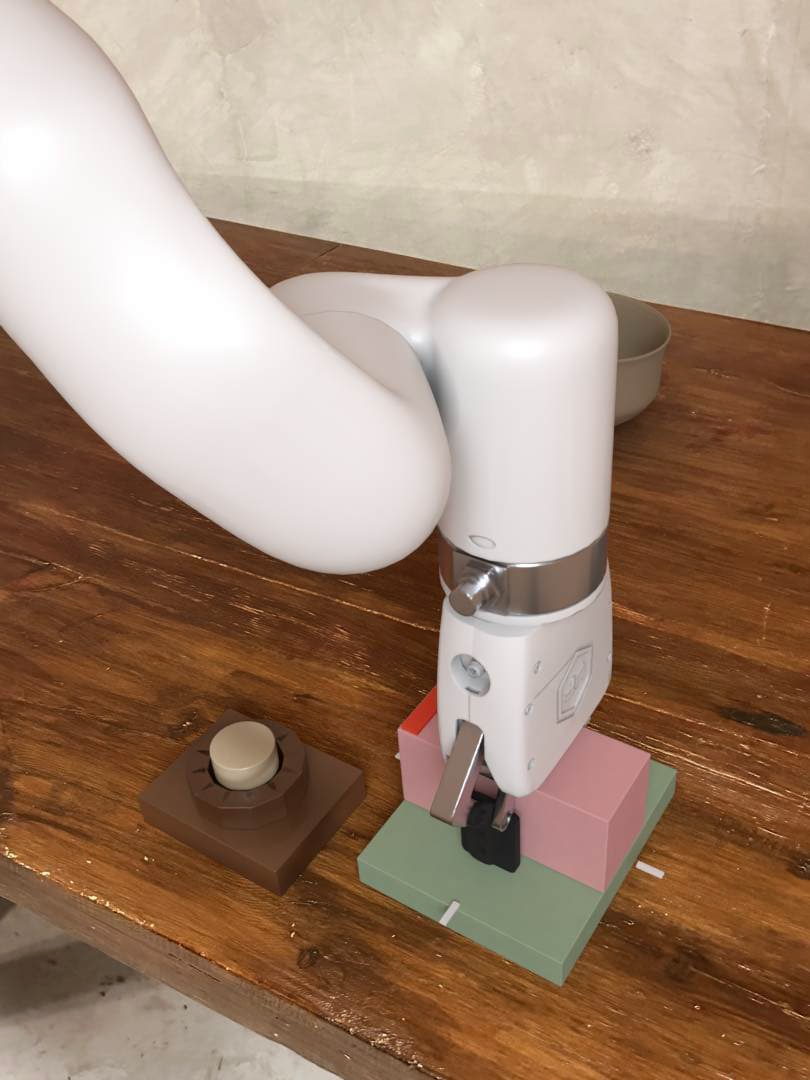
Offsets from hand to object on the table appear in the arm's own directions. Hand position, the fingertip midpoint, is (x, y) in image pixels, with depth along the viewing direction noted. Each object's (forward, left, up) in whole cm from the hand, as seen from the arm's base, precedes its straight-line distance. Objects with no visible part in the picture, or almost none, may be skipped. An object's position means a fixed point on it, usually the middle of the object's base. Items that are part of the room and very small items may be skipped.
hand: (524, 809), depth 61 cm
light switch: (-6, +14, -2) cm, 16 cm away
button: (-6, +14, +1) cm, 15 cm away
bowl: (+41, +16, -2) cm, 44 cm away
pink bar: (0, 0, 0) cm, 0 cm away
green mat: (0, 0, -2) cm, 2 cm away
